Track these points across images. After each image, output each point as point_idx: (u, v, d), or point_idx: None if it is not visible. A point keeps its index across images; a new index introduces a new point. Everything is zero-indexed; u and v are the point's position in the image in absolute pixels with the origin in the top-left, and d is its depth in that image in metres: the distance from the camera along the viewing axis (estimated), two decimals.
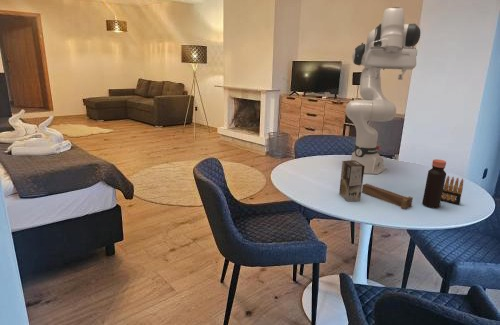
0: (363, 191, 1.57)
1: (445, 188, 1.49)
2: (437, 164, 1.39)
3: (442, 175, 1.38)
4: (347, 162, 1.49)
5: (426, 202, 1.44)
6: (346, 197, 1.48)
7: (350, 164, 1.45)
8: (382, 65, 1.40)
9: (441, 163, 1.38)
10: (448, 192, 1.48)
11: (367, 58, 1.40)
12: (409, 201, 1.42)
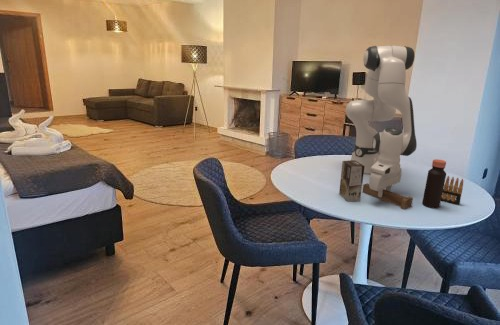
0: (364, 191, 1.57)
1: (445, 188, 1.49)
2: (437, 164, 1.39)
3: (442, 175, 1.38)
4: (347, 162, 1.49)
5: (426, 202, 1.44)
6: (346, 197, 1.48)
7: (350, 164, 1.45)
8: (384, 187, 1.46)
9: (441, 163, 1.38)
10: (448, 192, 1.48)
11: (378, 184, 1.41)
12: (409, 201, 1.42)
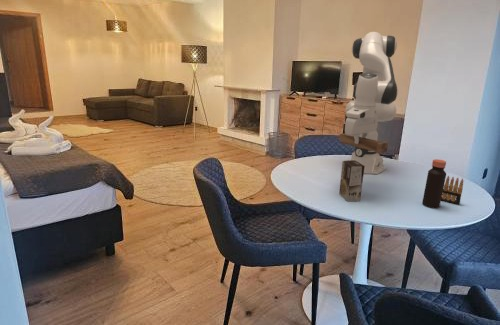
0: (340, 140, 1.57)
1: (445, 188, 1.49)
2: (437, 164, 1.39)
3: (442, 175, 1.38)
4: (347, 162, 1.49)
5: (426, 202, 1.44)
6: (346, 197, 1.48)
7: (350, 164, 1.45)
8: (360, 133, 1.46)
9: (441, 163, 1.38)
10: (448, 192, 1.48)
11: (353, 129, 1.41)
12: (384, 145, 1.42)
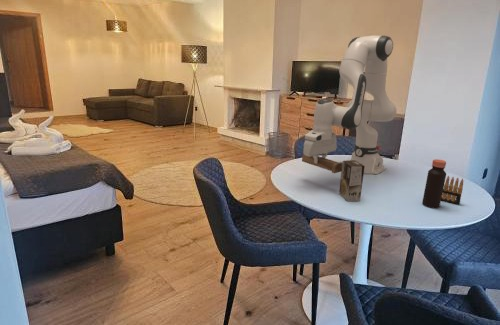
0: (303, 159, 1.69)
1: (445, 188, 1.49)
2: (437, 164, 1.39)
3: (442, 175, 1.38)
4: (347, 162, 1.49)
5: (426, 202, 1.44)
6: (346, 197, 1.48)
7: (350, 164, 1.45)
8: (318, 154, 1.58)
9: (441, 163, 1.38)
10: (448, 192, 1.48)
11: (310, 150, 1.53)
12: (340, 166, 1.54)
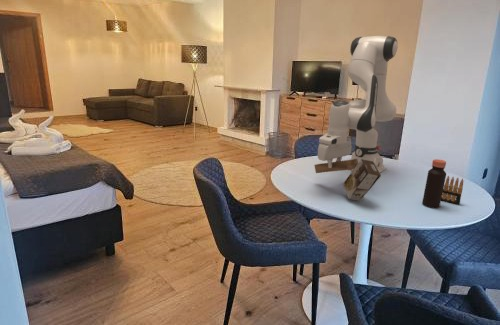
0: (316, 171, 1.63)
1: (445, 188, 1.49)
2: (437, 164, 1.39)
3: (442, 175, 1.38)
4: (365, 163, 1.41)
5: (426, 202, 1.44)
6: (349, 194, 1.47)
7: (367, 169, 1.39)
8: (333, 158, 1.52)
9: (441, 163, 1.38)
10: (448, 192, 1.48)
11: (325, 154, 1.47)
12: (354, 162, 1.47)
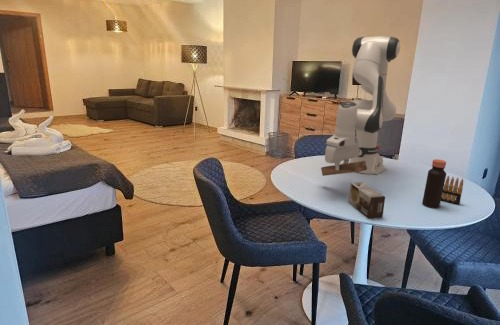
0: (323, 173, 1.60)
1: (445, 188, 1.49)
2: (437, 164, 1.39)
3: (442, 175, 1.38)
4: (372, 204, 1.30)
5: (426, 202, 1.44)
6: (350, 201, 1.45)
7: (370, 212, 1.31)
8: (340, 160, 1.49)
9: (441, 163, 1.38)
10: (448, 192, 1.48)
11: (333, 157, 1.44)
12: (362, 164, 1.44)
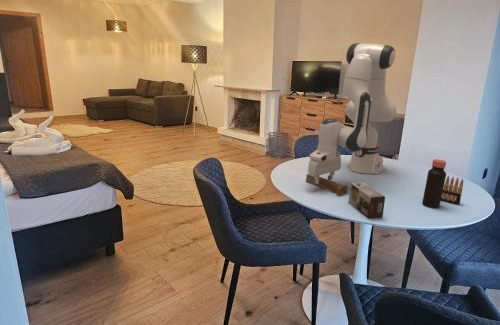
0: (307, 180, 1.69)
1: (445, 188, 1.49)
2: (437, 164, 1.39)
3: (442, 175, 1.38)
4: (372, 204, 1.30)
5: (426, 202, 1.44)
6: (350, 201, 1.45)
7: (370, 212, 1.31)
8: (323, 173, 1.58)
9: (441, 163, 1.38)
10: (448, 192, 1.48)
11: (315, 171, 1.53)
12: (344, 188, 1.54)
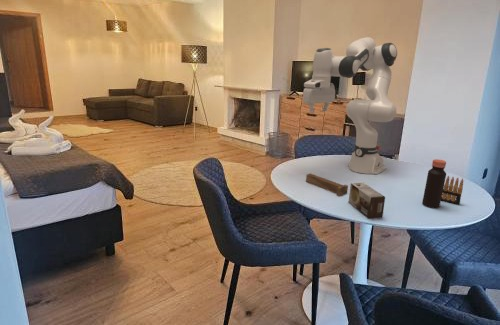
0: (307, 180, 1.69)
1: (445, 188, 1.49)
2: (437, 164, 1.39)
3: (442, 175, 1.38)
4: (372, 204, 1.30)
5: (426, 202, 1.44)
6: (350, 201, 1.45)
7: (370, 212, 1.31)
8: (317, 102, 1.62)
9: (441, 163, 1.38)
10: (448, 192, 1.48)
11: (309, 97, 1.58)
12: (344, 188, 1.54)
